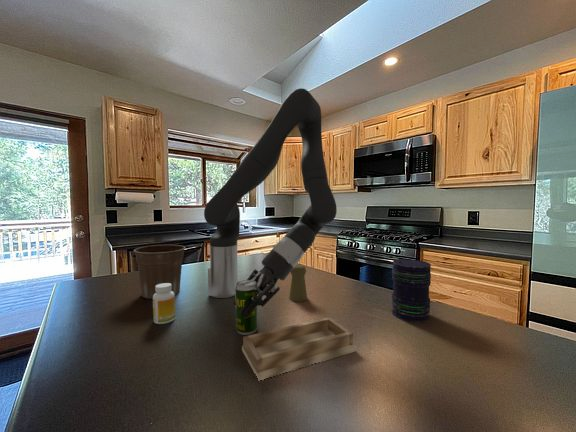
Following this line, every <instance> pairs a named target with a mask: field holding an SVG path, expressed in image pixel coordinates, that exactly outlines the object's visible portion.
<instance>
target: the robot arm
mask: <svg viewBox="0 0 576 432" xmlns="http://www.w3.org/2000/svg"><path fill="white" fill-rule="evenodd" d="M275 113H276V114H275V115H274V116H273V118H272V120H271V122H270V123H269V125H268V126H267V127H266V129H265V130H264V131H263V133H262V135H261V136H260V137H259V138H258V140H257V142H256V143H255V144H254V146H252V148H251V149H250V150H249V152H248V153H247V154H246V155H245V157H244V158H243V160H242V161H241V163H240V164H239V165H238V166H237V168H236V169H235V170H234V171H233V173H232V174H231V176H230V177H229V178H228V180H227V181H226V182H225V183H224V185H223V186H222V187H221V188H220V189H219V190H217V192H216V193H215V194H214V195H213V197H211V198H210V200H208V202H207V204H206V205H205V207H204V210H203V211H204V212H203V216H204V217H203V218H204V220H205V222H206V223H207V224H209V225H210V226H214V227H216V229H215V232H214V233H213V235H211V236H210V238H209V263H210V264H209V265H210V266H209V267H208V268H207V284H208V285H207V288H208V289H207V294H208V296H209V297H213V298H215V299H216V298H217V299H227V298H231V297H235V287H236V283H237V282H239V281H238V278H239V277H238V276H239V275H238V272H239V271H238V270H239V269H238V266H239V265H238V239H239V236H240V226H241V213H240V207H239V205H238V202H240V200H242V198H243V197H245V196H246V195H247V194H249V193H250V192H252V191H254V189H256V188H257V187H258V186H260V185H261V184H262V183H263V182H265V180H266V179H267V178H268V176H270V174H271V173H272V172H273V170H274V169H275V167H277V165H278V163H279V160H280V157H281V154H282V149H283V146H284V143H285V141H286V140H287V138H288V136H289V135H290V133H291V132H292V131H293V129H294V128H295V127H297V128H298V131H299V134H300V137H301V143H302V153H301V159H300V160H301V161H300V170H301V175H302V176H301V177H302V182H303V183H302V184H303V188H304V191H305V193H306V194H308V196H309V199H310V200H309V201H310V205H309V206H308V207H307V208H306V210H305V212H303V214H302V215H301V216H300V217H299V219H298V220H297V222H296V223H295V224H294V225H293V226H292V227H291V228H290V229H289V230H288V231H287V233H286V234H285V235H284V236H283V237H282V238H281V239H280V240H279V241H278V242H276V244H275V245H274V246H273V247H272V249H271V250H270V251H269V252H268V253H267V255H266V256H265V257H263V259H262V260H261V265H262V266H263V267H262V268H261V269H260V270H259V271H258V270H257V269H253V271H252V272H251V274H250V275H249V277H248V278H247V279H246V280H252V281H255V282H256V287H255V289H254V294H253V295H252V297H251V299H250V300H249V301H248V302H247V303H246V304H245V306H244V307H243V308H242V309H241V310H240V314H241V315H242V316H244V317H245V318H247V317H248V316H249V315H250V313H251V312H252V311H253V310H254V308H255V307H256V306H257V307H260V306H261V307H264V306H265V305H266V304H267V303H268V302H269V301H270V300H272V298H273V297H274V296H275V295H276V294H277V293H278V292H279V291H280V289H281V288H280V287H279V286H278V285H277V283H278V280H280V281H284V280H286V278H287V277H288V276H289V274H291V271H292V269H293V268H294V267H295V266H296V265H298V263H299V262H300V261H301V259H302V257H303V255H305V253H306V252H307V251H308V250H309V248H310V247H311V246H312V244H313V243H314V241H315V240H316V236H317V235H318V234H319V233H320V231H322V229H323V228H324V227H325V226H326V225H327V224H330V223H331V222H333V221H334V220H335V218H336V216H337V212H338V211H337V209H338V208H337V202H336V199H335V197H334V194H333V191H332V189H331V187H330V184H329V179H328V173H327V168H326V162H325V157H324V150H323V137H322V136H323V135H322V109H321V106H320V104H319V102H318V101H317V100H316V98H315V97H314V96H313V95H312V93H311V92H309V90H308V89H306V88H296V89H295V90H293V91H292V92H290V93H289V94H288V96H286V98H285V99H284V101H283V102H282V104H281V105H280V107H279V109H278V110H277V112H275ZM233 305H234V306H235V307H236V305H235V300H234V301H233Z"/></svg>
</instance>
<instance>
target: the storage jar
mask: <svg viewBox="0 0 576 432" xmlns="http://www.w3.org/2000/svg"><path fill="white" fill-rule="evenodd" d="M392 265H393V266H392V270H391V271H392V273H391V274H392V277H391V278H392V282H393V284H392V293H391V307H392V310H391V314H392V315H393V316H394V317H395V318H397V319H399V320H400V321H401V320H402V321H405V322H409V323H419V324H420V323H421V324H422V323H425V322H426V323H427V322H428V321H429V320H430V310H431V298H430V286H431V284H432V282H431V279H432V273H431V268H432V267H431V266H432V265H431V263H430V262H427V261H424V260H419V259H410V258H409V259H408V258H400V259H398V258H397V259H394V260H392Z"/></svg>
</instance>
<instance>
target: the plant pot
mask: <svg viewBox="0 0 576 432" xmlns="http://www.w3.org/2000/svg"><path fill="white" fill-rule="evenodd" d="M185 250H186V246H184V245H179V244H157V245H156V244H155V245H146V246H142V247H137V248H135V249H133V253H135V254H134V255H135V259H136V262H135V263H137V269H138V277H139V283H140V286H139V287H140V294H141V297H142V298H145V299H148V300H153V295H154V294H155V293H157V292H156V291H155V286H156V285H158V284H162V283H170V284H171V285H172V289H171V291H173V292H174V295H175V296H176V295H178V294H179V293H180V292H181V280H182V267H183V260H184V255H185Z"/></svg>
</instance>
